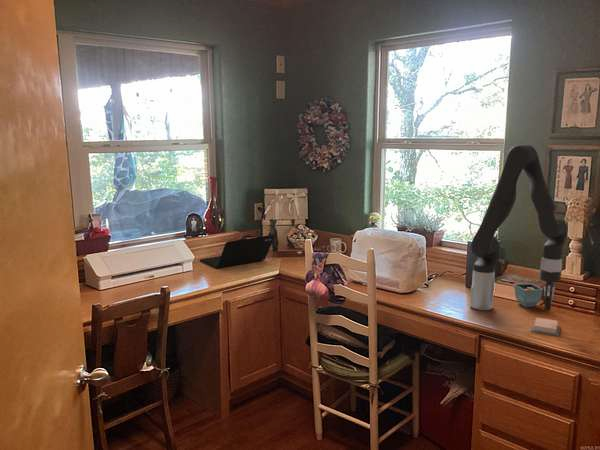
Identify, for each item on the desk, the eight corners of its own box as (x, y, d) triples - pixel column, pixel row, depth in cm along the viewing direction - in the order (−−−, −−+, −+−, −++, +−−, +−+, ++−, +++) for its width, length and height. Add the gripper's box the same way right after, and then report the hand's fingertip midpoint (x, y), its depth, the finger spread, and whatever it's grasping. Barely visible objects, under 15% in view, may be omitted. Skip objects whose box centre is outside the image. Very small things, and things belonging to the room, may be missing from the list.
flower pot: (541, 308, 228) (543, 289, 226) (523, 309, 226) (525, 290, 225) (530, 301, 236) (531, 283, 235) (512, 303, 235) (514, 284, 233)
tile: (535, 322, 210) (533, 330, 201) (536, 317, 210) (534, 325, 201) (557, 325, 206) (556, 333, 197) (557, 320, 206) (556, 329, 197)
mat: (530, 331, 201) (530, 330, 201) (532, 323, 210) (532, 322, 210) (558, 335, 197) (559, 334, 196) (559, 327, 205) (559, 326, 205)
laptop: (245, 254, 333) (245, 225, 330) (276, 266, 303) (276, 234, 300) (198, 261, 315) (197, 231, 311) (226, 275, 284) (225, 241, 281)
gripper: (541, 263, 209) (538, 303, 212) (539, 271, 198) (536, 313, 201) (561, 266, 206) (558, 306, 209) (561, 273, 194) (557, 316, 198)
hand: (547, 310), depth 205 cm, fingers closed
